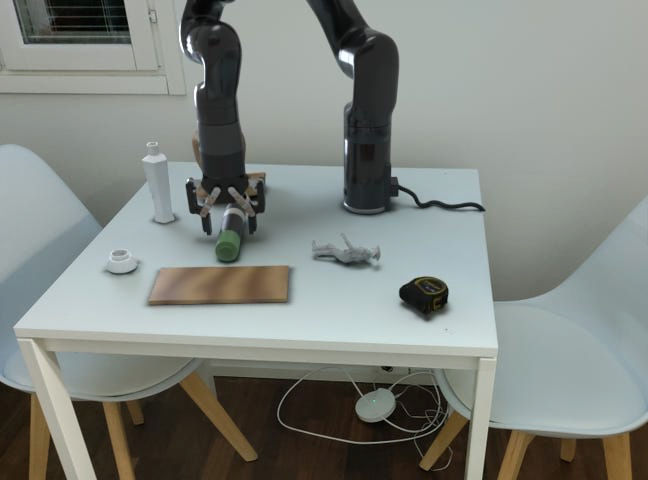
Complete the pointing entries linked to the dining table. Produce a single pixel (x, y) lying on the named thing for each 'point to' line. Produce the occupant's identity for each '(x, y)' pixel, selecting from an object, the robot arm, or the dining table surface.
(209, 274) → the wooden board
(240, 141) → the robot arm
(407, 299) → the tape measure
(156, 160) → the perfume bottle
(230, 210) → the marker
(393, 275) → the dining table surface
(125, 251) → the white jar
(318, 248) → the soldier figure
